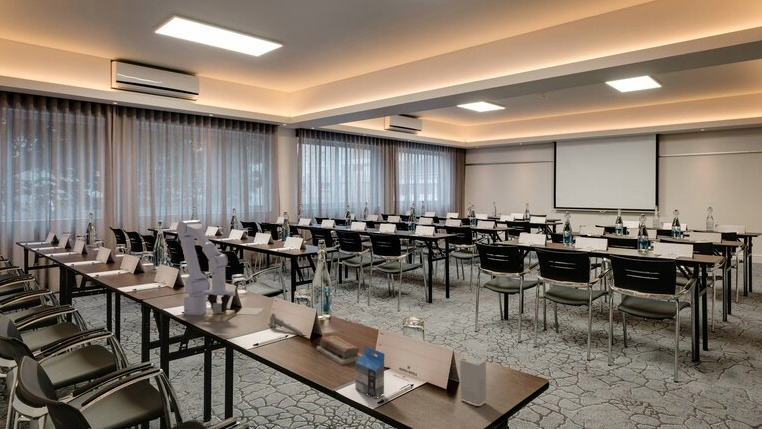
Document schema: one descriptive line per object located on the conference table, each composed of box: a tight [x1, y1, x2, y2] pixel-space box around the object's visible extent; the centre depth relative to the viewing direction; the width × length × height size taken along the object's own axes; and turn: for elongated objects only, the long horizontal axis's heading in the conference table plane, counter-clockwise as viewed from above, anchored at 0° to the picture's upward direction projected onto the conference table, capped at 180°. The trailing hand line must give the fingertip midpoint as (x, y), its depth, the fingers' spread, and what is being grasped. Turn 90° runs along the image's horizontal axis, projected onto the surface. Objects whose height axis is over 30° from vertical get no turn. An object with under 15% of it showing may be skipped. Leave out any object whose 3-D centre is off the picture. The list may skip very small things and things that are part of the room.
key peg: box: [212, 300, 226, 315], centre depth 200 cm, size 4×4×7 cm
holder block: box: [202, 309, 236, 322], centre depth 200 cm, size 10×10×2 cm
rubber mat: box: [235, 307, 265, 316], centre depth 210 cm, size 10×10×1 cm
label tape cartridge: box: [354, 345, 385, 399], centre depth 129 cm, size 9×4×12 cm, turn 45°
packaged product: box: [316, 334, 363, 366], centre depth 159 cm, size 18×5×10 cm
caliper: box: [269, 313, 303, 337], centre depth 183 cm, size 20×1×6 cm, turn 56°
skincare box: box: [459, 355, 487, 405], centre depth 123 cm, size 6×4×12 cm
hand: (219, 311), depth 200 cm, fingers closed on key peg, 4 cm apart
